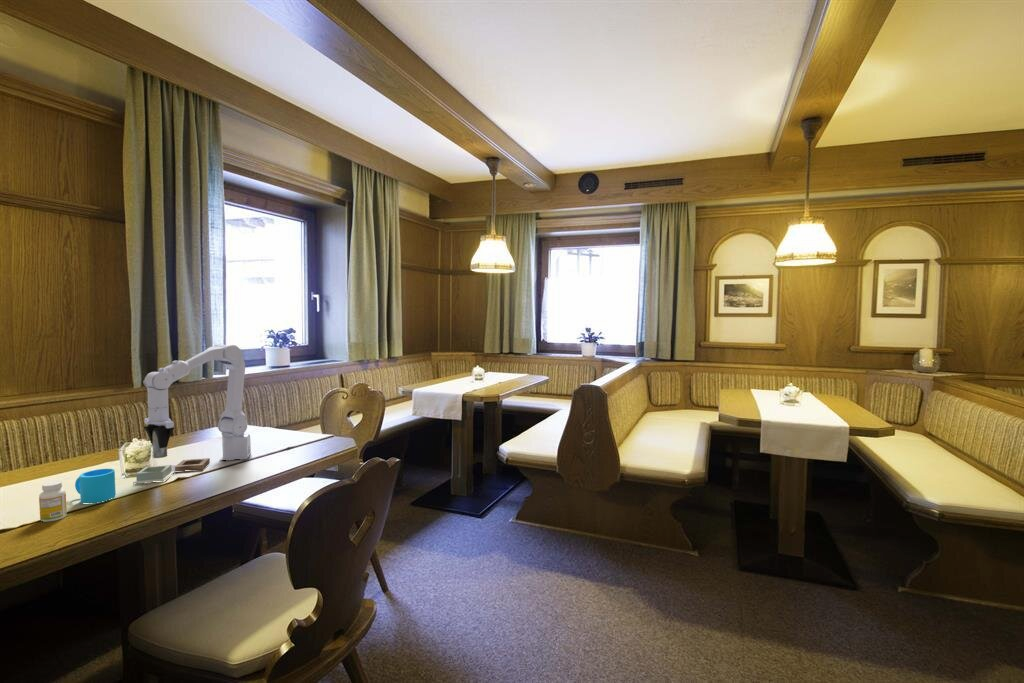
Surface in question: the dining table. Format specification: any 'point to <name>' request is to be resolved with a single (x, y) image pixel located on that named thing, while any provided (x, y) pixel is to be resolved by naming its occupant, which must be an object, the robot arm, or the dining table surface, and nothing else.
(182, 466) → the socket
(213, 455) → the dining table surface
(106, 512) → the dining table surface
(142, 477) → the grey square tray
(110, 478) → the mug
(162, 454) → the peg
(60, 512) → the supplement bottle
